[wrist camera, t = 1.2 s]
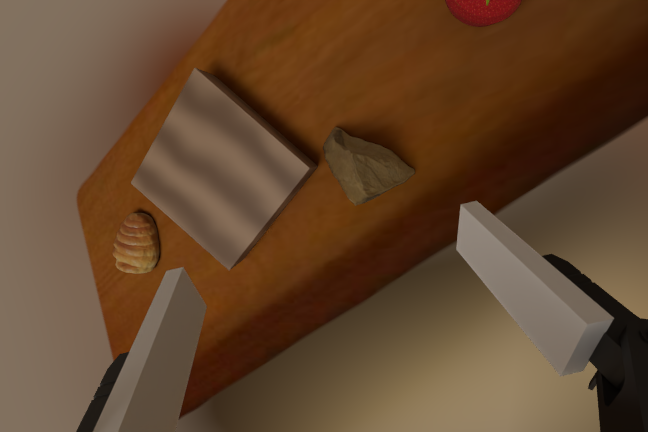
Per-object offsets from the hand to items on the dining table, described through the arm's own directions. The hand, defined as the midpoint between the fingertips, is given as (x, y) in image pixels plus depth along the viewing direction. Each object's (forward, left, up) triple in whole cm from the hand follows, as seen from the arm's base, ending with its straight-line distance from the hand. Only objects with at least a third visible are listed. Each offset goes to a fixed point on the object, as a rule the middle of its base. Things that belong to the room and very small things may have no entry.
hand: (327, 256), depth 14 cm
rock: (-3, -3, -25) cm, 25 cm away
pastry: (+30, -21, -25) cm, 44 cm away
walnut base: (+11, -16, -24) cm, 31 cm away
